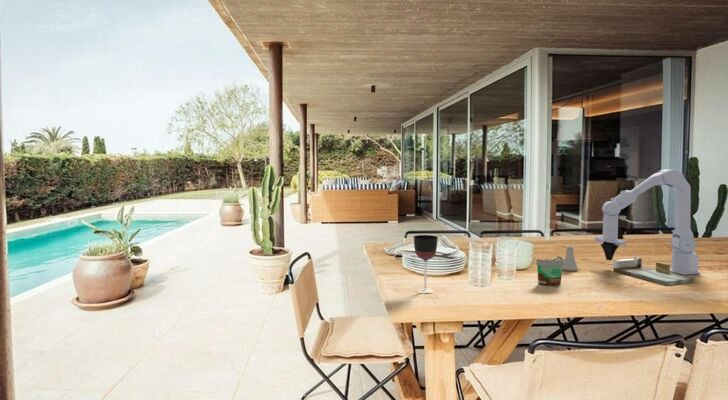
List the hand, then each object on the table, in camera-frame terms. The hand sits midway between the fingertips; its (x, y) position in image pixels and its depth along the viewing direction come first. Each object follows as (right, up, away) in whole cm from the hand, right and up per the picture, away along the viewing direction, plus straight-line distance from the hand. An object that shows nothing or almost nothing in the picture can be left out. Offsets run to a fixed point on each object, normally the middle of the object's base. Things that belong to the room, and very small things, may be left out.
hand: (609, 259), depth 196 cm
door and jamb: (+10, -5, -14) cm, 18 cm away
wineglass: (-85, -7, -33) cm, 91 cm away
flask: (-18, -4, 0) cm, 18 cm away
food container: (-35, -6, -25) cm, 43 cm away
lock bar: (+5, -3, -5) cm, 8 cm away
